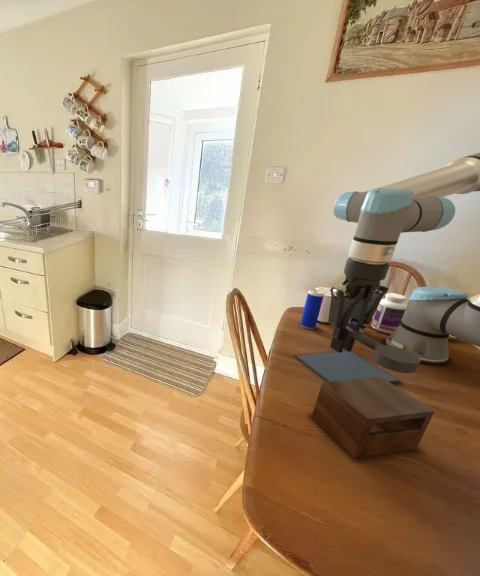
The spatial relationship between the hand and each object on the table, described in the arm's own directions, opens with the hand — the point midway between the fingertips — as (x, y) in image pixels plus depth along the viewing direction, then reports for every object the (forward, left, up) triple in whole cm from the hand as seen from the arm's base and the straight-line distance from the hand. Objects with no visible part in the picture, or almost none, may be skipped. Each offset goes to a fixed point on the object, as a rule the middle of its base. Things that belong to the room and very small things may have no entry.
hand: (340, 348), depth 79 cm
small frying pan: (0, +6, +4) cm, 7 cm away
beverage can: (-28, -39, -17) cm, 51 cm away
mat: (-18, -12, -16) cm, 27 cm away
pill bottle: (-55, -32, -17) cm, 65 cm away
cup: (-38, -43, -17) cm, 59 cm away
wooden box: (0, +11, -16) cm, 20 cm away
